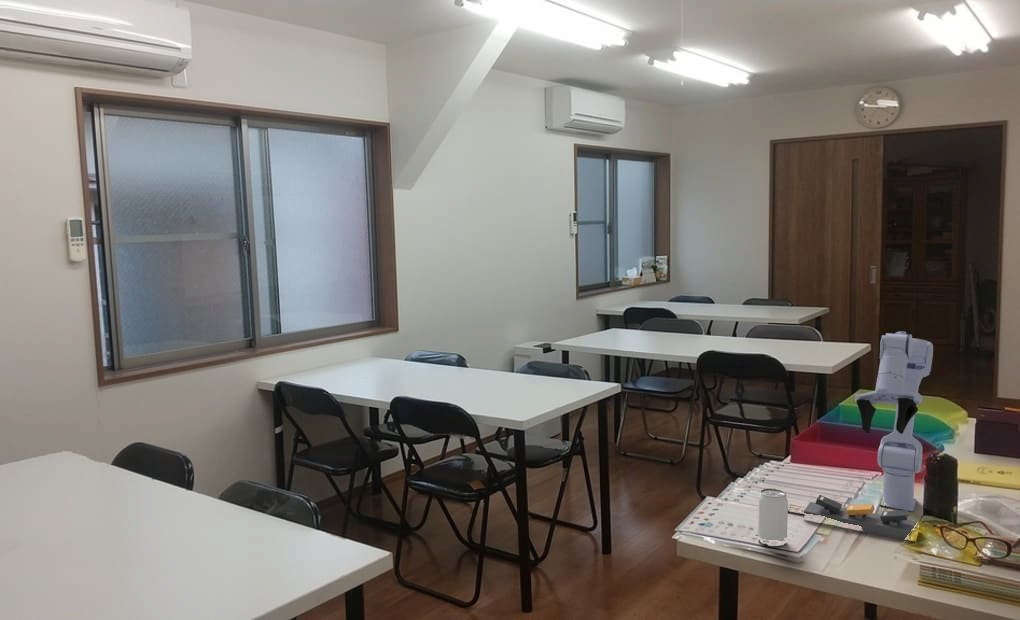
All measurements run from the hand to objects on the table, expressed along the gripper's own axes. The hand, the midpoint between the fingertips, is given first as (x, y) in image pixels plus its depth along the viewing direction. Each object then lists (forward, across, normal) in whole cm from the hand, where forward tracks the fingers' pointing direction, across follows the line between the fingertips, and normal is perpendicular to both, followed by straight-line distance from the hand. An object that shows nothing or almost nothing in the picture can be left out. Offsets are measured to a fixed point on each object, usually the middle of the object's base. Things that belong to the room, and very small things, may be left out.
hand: (882, 431), depth 171 cm
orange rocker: (+13, -11, +18) cm, 25 cm away
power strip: (+16, -14, +19) cm, 29 cm away
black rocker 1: (+13, -18, +15) cm, 27 cm away
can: (+29, -21, 0) cm, 36 cm away
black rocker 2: (+13, -4, +20) cm, 24 cm away
